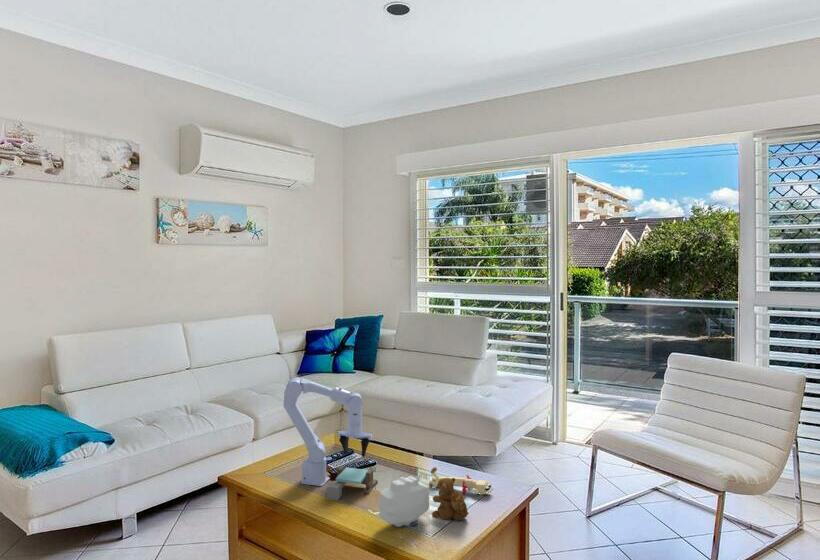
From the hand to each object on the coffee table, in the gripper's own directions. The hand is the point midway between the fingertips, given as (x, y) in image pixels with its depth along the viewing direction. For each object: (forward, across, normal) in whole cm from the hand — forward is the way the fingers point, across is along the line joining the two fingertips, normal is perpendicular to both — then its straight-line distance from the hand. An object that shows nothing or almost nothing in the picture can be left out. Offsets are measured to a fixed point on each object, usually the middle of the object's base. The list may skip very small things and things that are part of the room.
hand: (354, 455), depth 214 cm
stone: (+10, -2, -17) cm, 20 cm away
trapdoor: (+8, +3, -10) cm, 13 cm away
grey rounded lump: (+11, +29, -28) cm, 42 cm away
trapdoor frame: (+10, +3, -5) cm, 12 cm away
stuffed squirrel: (+11, +44, -19) cm, 49 cm away
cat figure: (+11, +44, +3) cm, 45 cm away
